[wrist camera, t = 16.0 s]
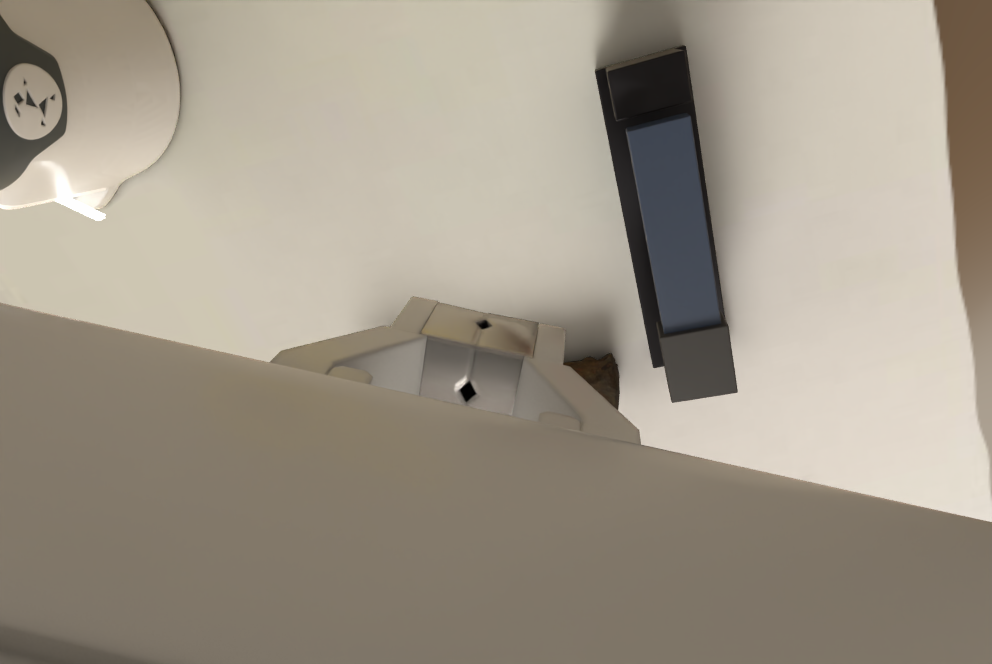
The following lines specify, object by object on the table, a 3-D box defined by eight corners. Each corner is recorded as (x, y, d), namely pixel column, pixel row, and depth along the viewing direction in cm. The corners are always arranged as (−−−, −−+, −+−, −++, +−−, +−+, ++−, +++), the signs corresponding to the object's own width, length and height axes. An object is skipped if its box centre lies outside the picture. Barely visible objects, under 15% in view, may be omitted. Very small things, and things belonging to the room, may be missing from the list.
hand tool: (617, 344, 46) (620, 375, 42) (619, 393, 47) (621, 427, 43) (365, 352, 49) (343, 381, 45) (374, 398, 51) (354, 430, 46)
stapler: (727, 347, 45) (743, 386, 40) (651, 360, 46) (659, 399, 41) (683, 45, 37) (697, 46, 33) (594, 69, 39) (595, 74, 34)
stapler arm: (730, 374, 40) (738, 393, 38) (667, 384, 41) (671, 403, 38) (691, 110, 34) (698, 114, 32) (619, 128, 35) (621, 134, 33)
